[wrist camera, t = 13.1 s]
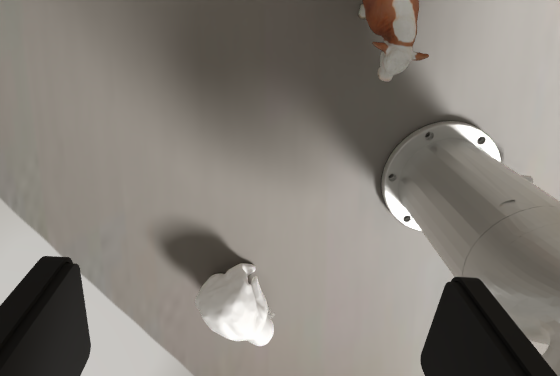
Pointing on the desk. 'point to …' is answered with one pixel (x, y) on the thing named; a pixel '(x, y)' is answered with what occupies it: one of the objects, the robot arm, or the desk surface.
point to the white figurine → (236, 306)
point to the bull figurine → (393, 33)
